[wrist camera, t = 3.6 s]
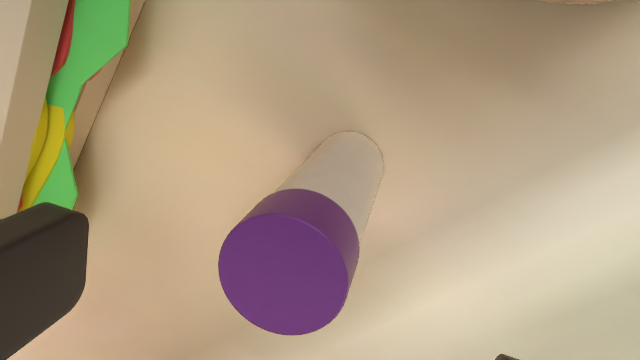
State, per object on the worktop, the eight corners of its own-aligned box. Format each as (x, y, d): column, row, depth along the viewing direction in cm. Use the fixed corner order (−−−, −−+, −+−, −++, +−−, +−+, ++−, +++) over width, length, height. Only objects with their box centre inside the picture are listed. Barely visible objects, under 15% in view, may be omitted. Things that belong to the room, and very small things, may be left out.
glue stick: (306, 188, 20) (208, 311, 11) (322, 119, 19) (228, 196, 10) (375, 208, 19) (330, 353, 11) (395, 140, 18) (363, 238, 10)
